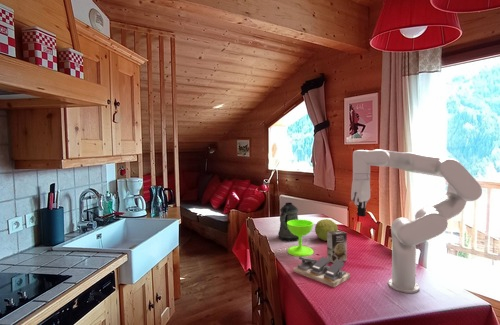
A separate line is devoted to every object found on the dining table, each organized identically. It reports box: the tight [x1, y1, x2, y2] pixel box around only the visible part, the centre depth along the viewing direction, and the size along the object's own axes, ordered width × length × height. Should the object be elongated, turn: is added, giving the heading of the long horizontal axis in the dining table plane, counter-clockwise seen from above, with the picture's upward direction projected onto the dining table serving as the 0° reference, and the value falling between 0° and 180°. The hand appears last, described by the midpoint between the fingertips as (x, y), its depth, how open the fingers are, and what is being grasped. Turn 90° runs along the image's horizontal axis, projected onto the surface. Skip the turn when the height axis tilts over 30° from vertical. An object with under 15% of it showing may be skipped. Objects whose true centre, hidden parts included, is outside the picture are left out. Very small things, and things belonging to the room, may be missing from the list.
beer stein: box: [277, 202, 299, 242], centre depth 206 cm, size 16×19×25 cm
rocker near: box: [325, 260, 345, 278], centre depth 142 cm, size 10×4×1 cm, turn 132°
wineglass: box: [286, 219, 314, 257], centre depth 180 cm, size 16×16×18 cm
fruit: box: [314, 218, 339, 241], centre depth 202 cm, size 16×14×15 cm
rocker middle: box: [311, 256, 331, 272], centre depth 148 cm, size 10×4×1 cm, turn 132°
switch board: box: [293, 260, 351, 288], centre depth 148 cm, size 14×24×5 cm, turn 42°
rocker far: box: [298, 256, 318, 262], centre depth 154 cm, size 10×4×1 cm, turn 132°
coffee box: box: [326, 230, 348, 264], centre depth 166 cm, size 9×6×16 cm
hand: (361, 215), depth 137 cm, fingers closed
